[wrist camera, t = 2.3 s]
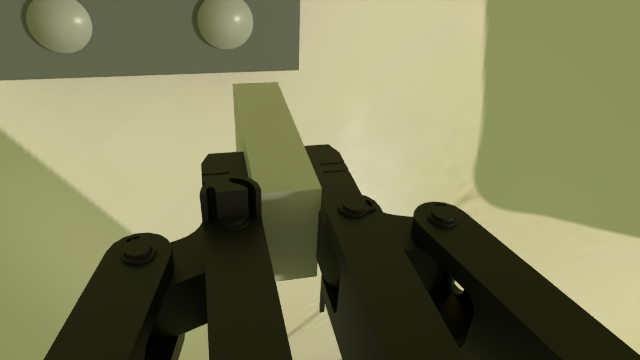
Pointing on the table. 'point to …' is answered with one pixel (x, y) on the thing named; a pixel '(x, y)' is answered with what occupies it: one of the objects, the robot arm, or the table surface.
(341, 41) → the table surface
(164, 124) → the table surface
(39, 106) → the table surface
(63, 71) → the switch panel
